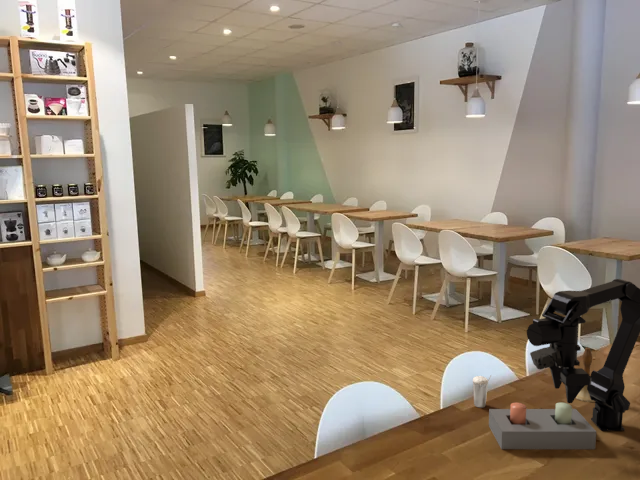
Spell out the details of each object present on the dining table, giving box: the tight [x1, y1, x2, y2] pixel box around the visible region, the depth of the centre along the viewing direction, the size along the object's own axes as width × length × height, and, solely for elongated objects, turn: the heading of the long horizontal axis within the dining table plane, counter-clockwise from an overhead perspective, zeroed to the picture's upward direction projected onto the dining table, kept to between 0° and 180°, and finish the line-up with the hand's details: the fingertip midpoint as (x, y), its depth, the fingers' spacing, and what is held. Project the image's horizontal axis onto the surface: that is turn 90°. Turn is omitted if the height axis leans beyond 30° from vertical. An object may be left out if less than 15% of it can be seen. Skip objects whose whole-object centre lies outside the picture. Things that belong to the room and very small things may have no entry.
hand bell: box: [575, 347, 595, 403], centre depth 164 cm, size 8×8×16 cm
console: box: [488, 408, 597, 450], centre depth 143 cm, size 24×12×5 cm, turn 88°
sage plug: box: [554, 402, 573, 425], centre depth 142 cm, size 4×4×5 cm
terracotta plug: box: [509, 402, 527, 425], centre depth 142 cm, size 4×4×5 cm
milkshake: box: [472, 375, 492, 409], centre depth 160 cm, size 4×5×10 cm
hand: (563, 395), depth 141 cm, fingers open, 8 cm apart
